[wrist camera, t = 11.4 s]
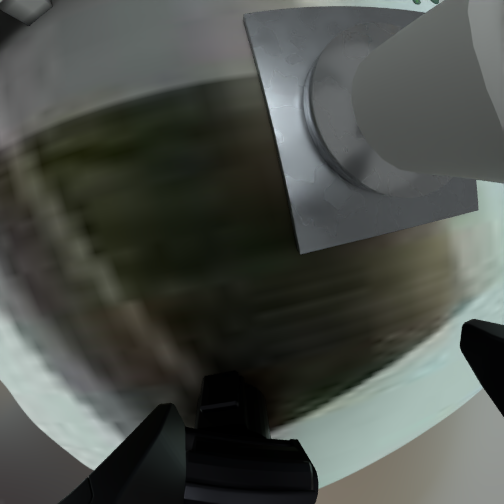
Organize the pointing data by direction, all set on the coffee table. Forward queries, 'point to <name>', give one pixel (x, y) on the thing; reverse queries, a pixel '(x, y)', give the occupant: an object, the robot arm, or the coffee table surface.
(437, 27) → the can
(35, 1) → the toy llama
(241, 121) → the coffee table surface
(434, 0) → the decorative book
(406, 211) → the square metal dish
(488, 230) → the coffee table surface
